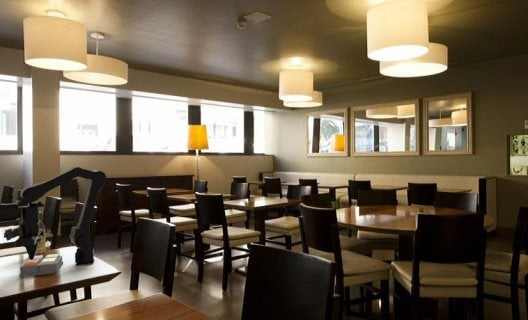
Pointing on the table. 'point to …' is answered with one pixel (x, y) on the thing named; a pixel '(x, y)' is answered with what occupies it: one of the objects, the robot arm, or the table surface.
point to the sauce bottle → (42, 245)
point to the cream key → (49, 261)
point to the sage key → (53, 256)
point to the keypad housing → (41, 268)
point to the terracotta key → (31, 262)
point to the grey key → (38, 257)
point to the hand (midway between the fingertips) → (31, 259)
